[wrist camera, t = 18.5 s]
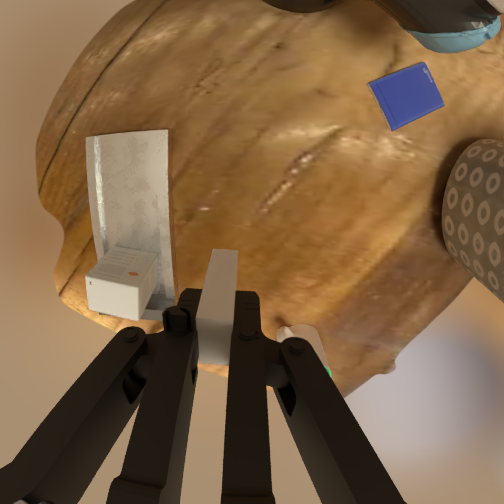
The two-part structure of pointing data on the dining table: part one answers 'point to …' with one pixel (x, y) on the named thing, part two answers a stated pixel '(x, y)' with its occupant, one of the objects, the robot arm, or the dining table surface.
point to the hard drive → (406, 95)
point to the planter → (477, 213)
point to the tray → (135, 203)
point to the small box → (122, 282)
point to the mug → (307, 334)
